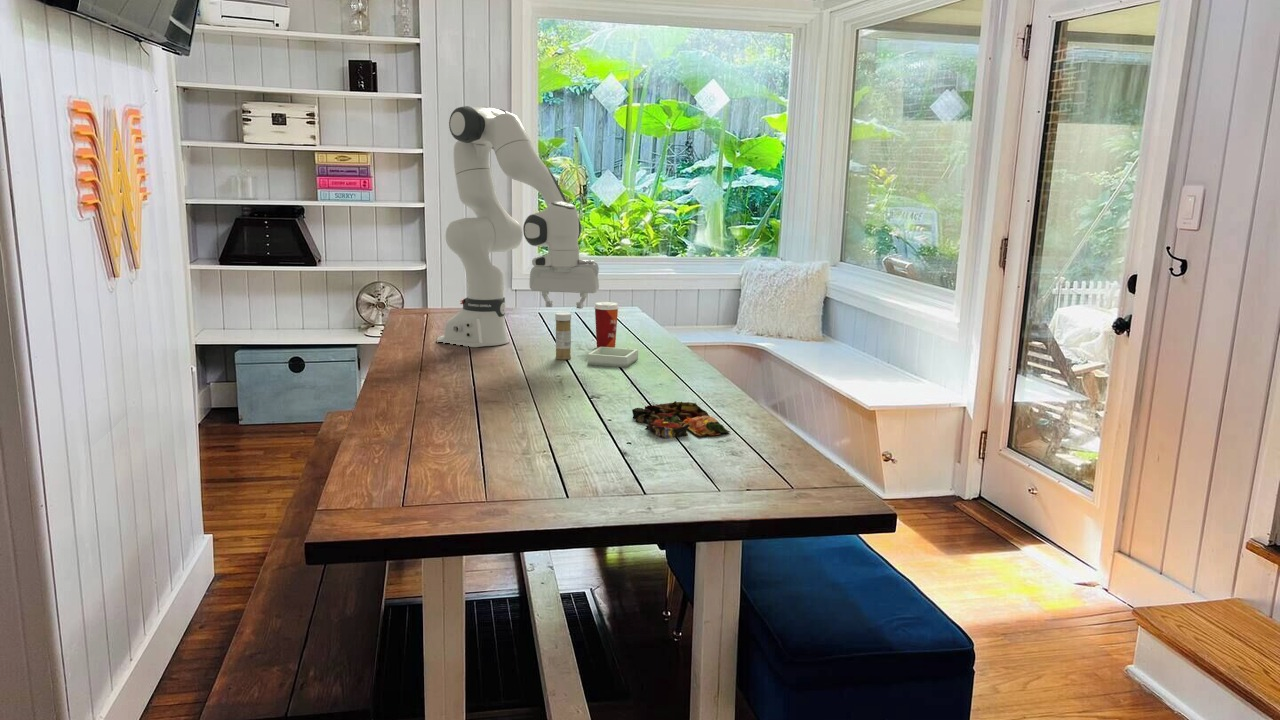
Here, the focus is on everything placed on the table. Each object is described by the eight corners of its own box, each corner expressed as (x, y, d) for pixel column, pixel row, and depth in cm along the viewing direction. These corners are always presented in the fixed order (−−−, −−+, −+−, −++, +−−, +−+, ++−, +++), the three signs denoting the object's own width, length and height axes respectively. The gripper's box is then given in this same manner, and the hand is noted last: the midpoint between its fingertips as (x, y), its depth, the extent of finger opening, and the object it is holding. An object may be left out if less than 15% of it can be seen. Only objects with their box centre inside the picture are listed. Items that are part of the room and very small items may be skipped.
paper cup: (617, 351, 282) (618, 305, 279) (592, 350, 282) (593, 305, 279) (618, 346, 290) (619, 301, 287) (594, 345, 290) (594, 301, 287)
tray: (587, 364, 263) (587, 354, 262) (600, 356, 274) (600, 346, 273) (626, 367, 260) (626, 357, 259) (637, 359, 271) (638, 349, 270)
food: (622, 416, 212) (622, 401, 211) (696, 411, 219) (697, 397, 218) (657, 444, 192) (658, 428, 191) (738, 438, 199) (739, 422, 198)
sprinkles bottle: (567, 356, 273) (567, 311, 270) (573, 359, 269) (573, 314, 266) (553, 357, 271) (553, 312, 268) (558, 360, 267) (558, 314, 264)
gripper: (601, 259, 264) (602, 307, 266) (535, 257, 269) (536, 304, 272) (594, 261, 258) (595, 310, 260) (526, 259, 263) (527, 307, 266)
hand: (564, 307), depth 266 cm, fingers open, 8 cm apart
